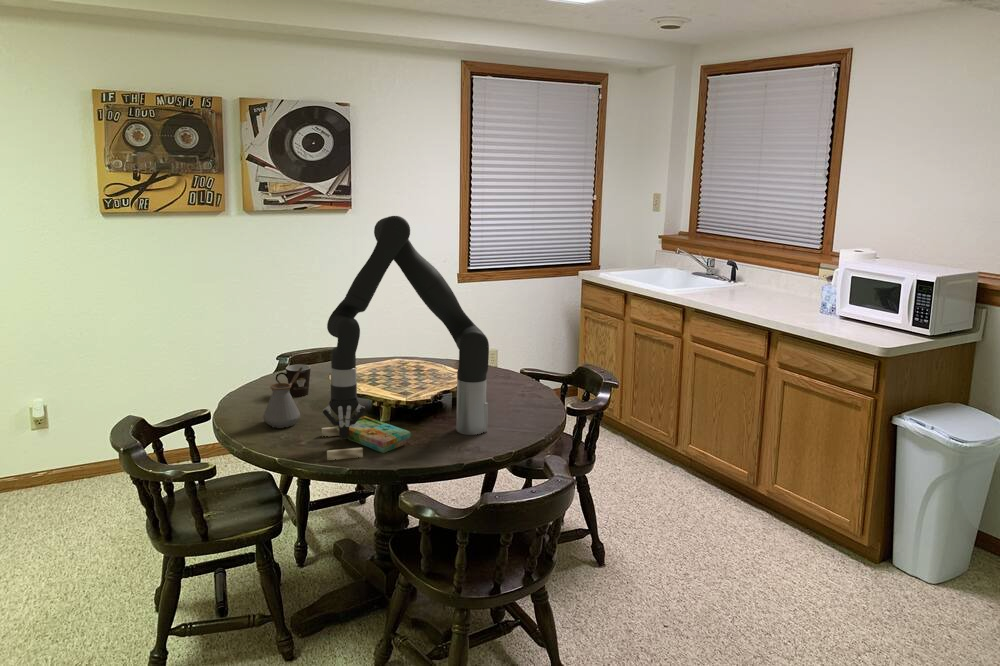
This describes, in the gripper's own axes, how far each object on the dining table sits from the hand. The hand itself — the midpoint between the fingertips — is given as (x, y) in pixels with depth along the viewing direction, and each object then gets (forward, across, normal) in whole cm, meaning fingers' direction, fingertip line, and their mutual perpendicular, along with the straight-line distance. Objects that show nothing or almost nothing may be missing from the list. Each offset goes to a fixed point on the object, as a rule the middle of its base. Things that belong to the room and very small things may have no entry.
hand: (344, 437), depth 229 cm
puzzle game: (+2, -9, -1) cm, 9 cm away
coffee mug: (+3, +12, -55) cm, 56 cm away
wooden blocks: (+2, +1, 0) cm, 3 cm away
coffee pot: (+3, +15, -28) cm, 32 cm away
